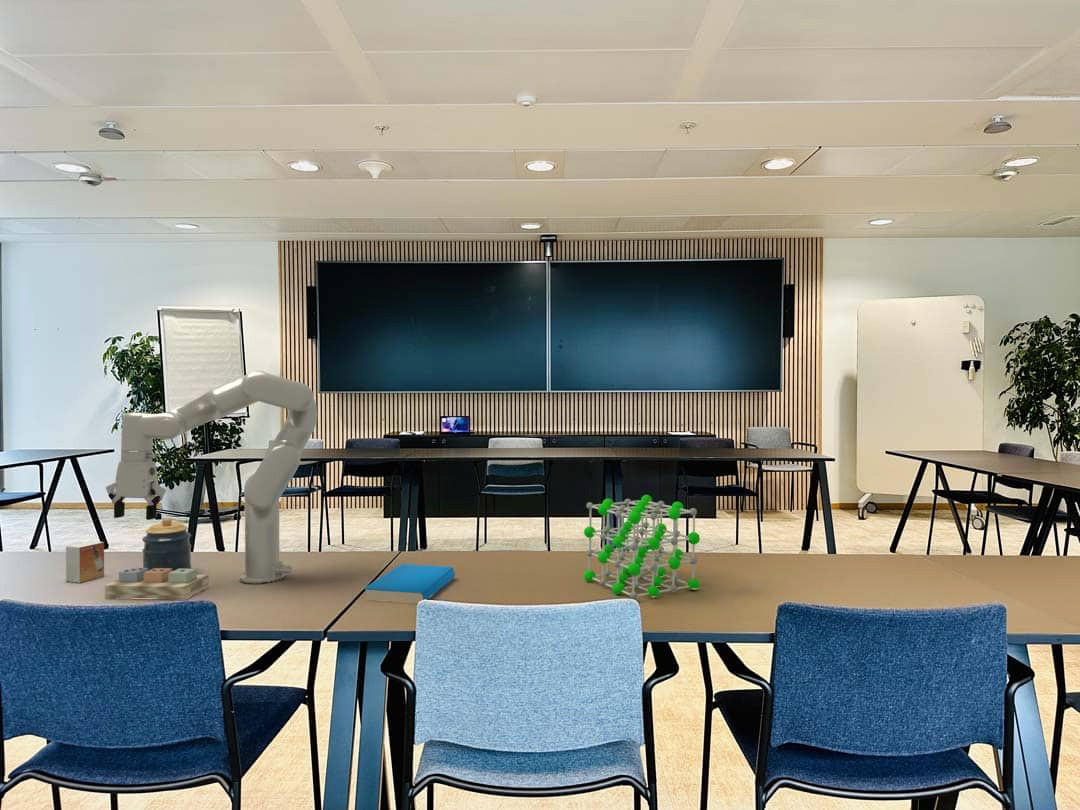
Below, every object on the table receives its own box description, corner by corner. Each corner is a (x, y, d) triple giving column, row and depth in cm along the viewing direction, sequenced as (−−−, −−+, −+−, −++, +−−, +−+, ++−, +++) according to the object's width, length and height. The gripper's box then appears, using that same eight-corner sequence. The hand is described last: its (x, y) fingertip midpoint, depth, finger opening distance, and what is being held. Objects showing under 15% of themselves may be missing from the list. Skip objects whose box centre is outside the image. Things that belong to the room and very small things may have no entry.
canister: (163, 569, 213) (163, 513, 212) (200, 571, 210) (200, 514, 210) (132, 580, 200) (131, 520, 199) (171, 582, 198) (170, 522, 197)
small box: (79, 583, 197) (78, 547, 196) (65, 581, 198) (65, 546, 198) (105, 576, 204) (104, 541, 204) (91, 574, 206) (91, 540, 206)
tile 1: (196, 579, 190) (196, 568, 189) (186, 584, 185) (186, 572, 184) (179, 579, 190) (179, 567, 190) (168, 584, 185) (168, 572, 185)
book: (364, 587, 181) (400, 562, 206) (364, 603, 181) (400, 576, 206) (425, 591, 178) (454, 565, 202) (425, 607, 178) (455, 580, 202)
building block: (148, 578, 190) (148, 567, 190) (136, 583, 185) (136, 572, 185) (130, 578, 191) (130, 566, 191) (118, 583, 186) (118, 571, 186)
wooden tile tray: (208, 587, 193) (208, 574, 193) (184, 600, 181) (184, 586, 181) (134, 585, 194) (133, 573, 194) (104, 598, 182) (104, 585, 182)
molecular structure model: (646, 570, 212) (647, 493, 211) (702, 591, 190) (703, 505, 190) (581, 581, 200) (581, 499, 200) (633, 604, 178) (633, 513, 178)
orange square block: (172, 579, 190) (172, 567, 190) (161, 584, 185) (161, 572, 185) (155, 578, 190) (154, 567, 190) (143, 583, 185) (143, 572, 185)
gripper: (174, 457, 191) (172, 517, 191) (118, 454, 193) (116, 514, 194) (155, 459, 184) (154, 522, 184) (98, 456, 186) (96, 518, 186)
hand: (135, 518), depth 189 cm, fingers open, 9 cm apart
